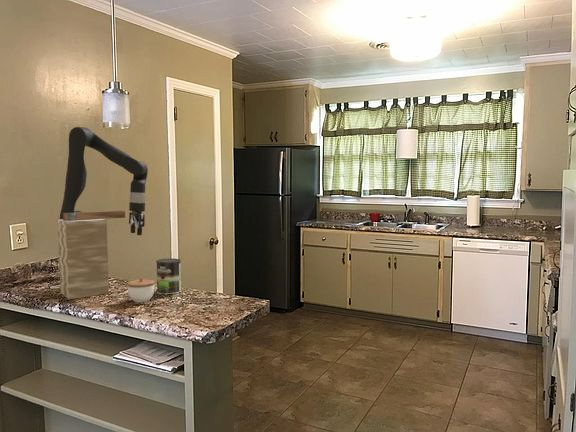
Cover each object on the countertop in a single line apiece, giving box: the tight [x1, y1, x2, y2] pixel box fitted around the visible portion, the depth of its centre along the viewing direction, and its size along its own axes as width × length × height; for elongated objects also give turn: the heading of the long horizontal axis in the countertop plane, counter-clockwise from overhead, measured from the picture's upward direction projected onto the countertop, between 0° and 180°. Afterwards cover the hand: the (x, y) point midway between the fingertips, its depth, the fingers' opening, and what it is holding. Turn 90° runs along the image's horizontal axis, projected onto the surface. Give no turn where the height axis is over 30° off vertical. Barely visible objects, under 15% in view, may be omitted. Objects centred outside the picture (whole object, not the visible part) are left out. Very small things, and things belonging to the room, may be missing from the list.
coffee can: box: [155, 258, 182, 296], centre depth 204 cm, size 10×10×14 cm
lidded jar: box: [126, 277, 156, 304], centre depth 190 cm, size 11×11×9 cm
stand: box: [57, 218, 110, 300], centre depth 202 cm, size 14×16×32 cm
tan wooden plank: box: [63, 210, 126, 221], centre depth 204 cm, size 5×25×3 cm, turn 130°
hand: (136, 234), depth 233 cm, fingers open, 8 cm apart
